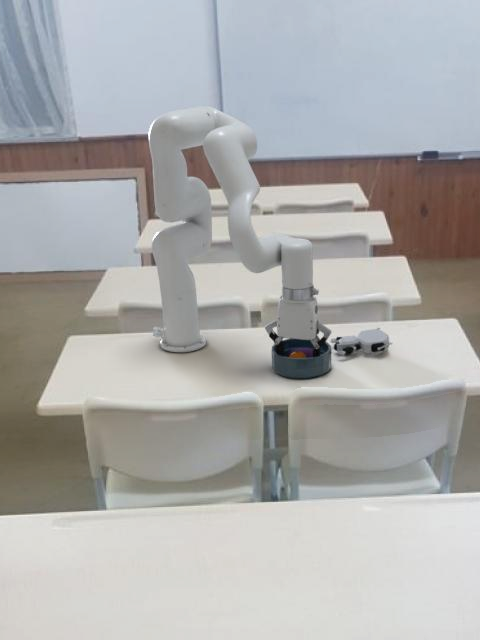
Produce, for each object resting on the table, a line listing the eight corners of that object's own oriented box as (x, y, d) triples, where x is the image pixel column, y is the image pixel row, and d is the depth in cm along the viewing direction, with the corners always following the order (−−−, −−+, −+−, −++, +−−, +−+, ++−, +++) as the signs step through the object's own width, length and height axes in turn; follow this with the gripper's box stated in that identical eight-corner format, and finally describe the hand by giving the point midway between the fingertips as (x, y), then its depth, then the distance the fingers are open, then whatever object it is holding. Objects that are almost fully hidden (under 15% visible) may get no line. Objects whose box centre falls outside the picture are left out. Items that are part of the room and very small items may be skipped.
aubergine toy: (286, 363, 219) (287, 348, 217) (291, 360, 222) (292, 345, 220) (319, 367, 216) (320, 351, 215) (323, 364, 220) (324, 348, 218)
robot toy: (339, 365, 221) (395, 356, 223) (338, 349, 219) (394, 340, 220) (329, 349, 232) (382, 340, 233) (328, 333, 229) (381, 324, 230)
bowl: (264, 376, 215) (263, 355, 212) (283, 355, 227) (282, 335, 224) (321, 382, 210) (321, 361, 207) (337, 360, 222) (337, 340, 219)
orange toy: (285, 373, 214) (284, 352, 212) (291, 367, 218) (290, 346, 216) (304, 374, 213) (303, 353, 210) (310, 368, 217) (309, 347, 214)
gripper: (336, 290, 206) (335, 358, 215) (268, 285, 210) (270, 351, 220) (327, 300, 200) (327, 369, 209) (258, 294, 204) (261, 362, 214)
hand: (298, 359), depth 215 cm, fingers open, 8 cm apart
